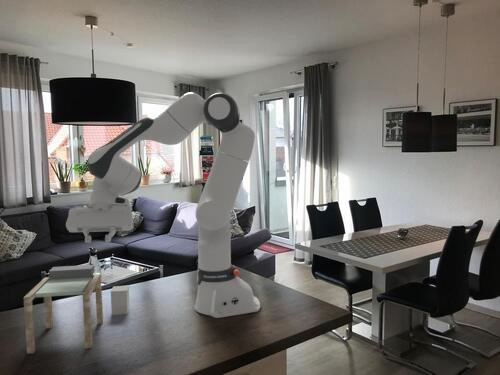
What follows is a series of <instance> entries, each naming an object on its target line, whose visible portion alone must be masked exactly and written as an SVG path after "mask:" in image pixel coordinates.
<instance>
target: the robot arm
mask: <svg viewBox="0 0 500 375" xmlns="http://www.w3.org/2000/svg"><path fill="white" fill-rule="evenodd" d="M240 114H241V113H240V108H239V105H238V103H237V102H236V100H235V99H234V98H233V97H232V96H231V95H229V94H228V93H224V92H217V93H213V94H212V95H211V94H210V95H209V96H208V98H207V99H204V98H203V97H202V96H201V95H200V94H198V93H197V92H192V91H191V92H189V91H188V92H186V93H184V94H183V95H182V96H180V97H179V98H177V99H176V100H175V101H173V103H171V104H170V105H169V106H168V107H167V108H166V109H165V110H164V111H163V112H161V113H160V114H157V115H156V116H152V117H149V116H145V117H143V118H141V119H140V120H138V121H136V122H135V123H134V124H132V125H131V126H129V127H128V128H126V129H125V130H124V131H123V132H121V133H120V134H118V135H117V136H116V137H114V138H113V139H112V140H110V141H108V142H107V143H105V144H104V145H101V146H99V147H98V148H96V149H95V150H93V152H91V153H90V155H89V156H88V158H87V170H88V171H89V174H90V175H92V176H93V177H94V178H93V182H92V188H91V189H92V192H91V194H90V197H89V203H88V205H75V206H74V207H71V208H70V209H69V210H68V215H67V219H66V222H65V228H66V230H67V231H68V232H69V233H83V235H84V242H85V243H86V244H87V243H88V244H89V243H92V236H91V234H90V232H91V233H93V232H94V233H95V232H109V233H108V234H105V237H104V241H105V243H111V242H112V238H113V237H114V236H115V234H117V233H116V232H123V231H124V232H125V231H128V232H131V231H132V230H133V228H134V217H133V212H132V208H131V207H132V206H131V203H130V200H129V199H128V198H125V197H121V196H125V195H128V194H132V193H133V192H135V191H136V190H138V188H139V187H140V185H141V183H142V179H143V178H142V177H143V176H142V175H143V174H142V171H141V169H140V168H138V167H137V166H135V165H134V164H133V163H132V162H130V161H128V160H126V158H123V157H122V156H121V155H122V154H123V153H124V152H126V151H127V150H128V149H130V148H131V147H133V146H134V145H135V144H136V143H138V142H140V141H152V142H156V143H159V144H162V145H167V146H175V145H178V144H180V143H182V142H183V141H185V140H186V139H187V138H188V137H189V136H190V135H191V133H193V132H194V131H195V129H197V128H198V127H199V126H200V125H202V124H208V125H210V126H211V127H213V128H215V129H217V130H218V131H219V132H220V134H221V140H220V143H219V146H218V149H217V151H216V155H215V158H214V160H213V162H212V165H211V169H210V171H209V174H208V176H207V179H206V181H205V184H204V186H203V189H202V192H201V195H200V196H199V200H198V202H197V205H196V207H195V219H196V221H197V223H198V239H197V256H198V257H197V260H198V261H197V262H198V264H197V268H196V269H197V270H196V282H197V294H196V300H195V305H194V306H193V307H194V310H195V311H196V312H198V313H200V314H202V315H207V316H210V317H212V318H215V319H218V318H219V319H220V318H225V317H232V316H238V315H244V314H249V313H257V312H259V311H260V309H261V302H260V299H258V297H257V296H255V295H254V292H253V289H252V287H251V285H250V284H249V283H248V282H247V281H244V280H243V279H241V278H240V277H239V276H240V270H239V269H237V267H236V266H235V265H234V264H233V265H232V262H231V261H232V257H231V256H232V255H231V254H232V249H231V248H232V246H231V245H232V244H231V240H232V239H231V238H232V237H231V236H232V235H231V214H232V211H233V209H234V206H235V203H236V200H237V197H238V194H239V191H240V188H241V184H242V182H243V179H244V176H245V174H246V171H247V168H248V165H249V163H250V160H251V157H252V154H253V149H254V146H255V145H254V144H255V138H256V136H255V135H256V133H255V132H254V130H253V129H252V128H251V126H248V125H247V124H245V123H242V122H241V120H240Z"/></svg>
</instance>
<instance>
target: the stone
mask: <svg viewBox="0 0 500 375" xmlns="http://www.w3.org/2000/svg"><path fill="white" fill-rule="evenodd" d="M110 301H111V302H110V303H111V305H110V306H111V316H118V315H121V316H122V315H128V314H129V311H130V286H129V285H128V284H127V285H117V286H116V285H115V286H114V285H113V287H112V288H111V291H110Z"/></svg>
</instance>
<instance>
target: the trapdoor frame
mask: <svg viewBox="0 0 500 375" xmlns="http://www.w3.org/2000/svg"><path fill="white" fill-rule="evenodd" d="M48 281H49V276H48V277H44V278H43V279H41V281H39V283H37V284H36V285H35V286H34V287H32V289H31V290H30V291H28V293H26V294H25V296H24V297H23V308H24V310H23V312H24V322H25V325H24V327H25V328H24V329H25V339H26V340H25V341H26V353H27V354H28V355H29V354H34V353H35V351H36V340H35V326H34V324H35V323H34V322H35V321H34V310H33V309H34V308H33V307H34V306H33V300H34V299H35V298H36V297H35V294H36V293H37V292H38V291H39V290H40V289H41V288H42V287H43V286H44V285H45V284H46V283H47V282H48ZM94 291H95V309H96V310H95V312H96V325H102V324H104V314H103V312H104V311H103V296H102V295H103V294H102V274H101V273H97V274H93V275H92V281H91V282H90V283H89V285H88V286H87V288H86V289H85V291H84V292H83V294H82V306H83V307H82V308H83V309H82V310H83V312H82V313H83V327H84V329H83V330H84V346H85V347H84V348H85V349H91V348H93V335H92V334H93V333H92V332H93V330H92V312H91V310H92V308H91V295H92V294H93V293H94ZM43 298H44V311H45V326H46V327H45V328H46V329H52V328H53V327H54V320H53V319H54V318H53V316H54V315H53V304H52V303H53V302H52V301H53V300H52V298H53V297H52V296H49V297H43Z"/></svg>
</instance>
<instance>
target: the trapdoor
mask: <svg viewBox="0 0 500 375" xmlns="http://www.w3.org/2000/svg"><path fill="white" fill-rule="evenodd" d="M94 273H95V264H84V265H65V266H52V268H50V269H49V270H48V277H49V281H48V282H47V283H46V284H45V285H44V286H43V287H42V288H41V289H40V290H39V291H38V292H37V293H36V294H35V298H44V297H49V296H51V297H62V296H75V295H83V292H84V291H85V289H86V288H87V286H88V285H89V283H90V282H91V281H92V275H94Z"/></svg>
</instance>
